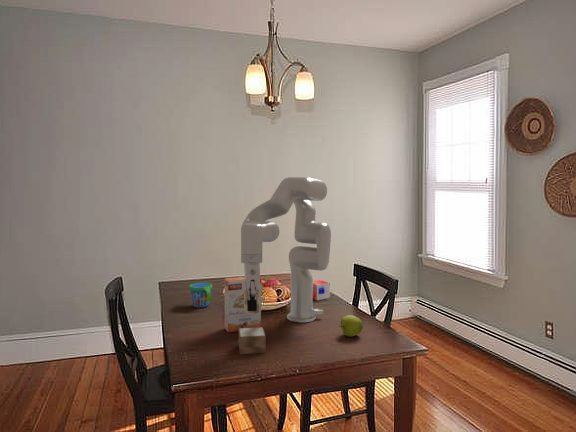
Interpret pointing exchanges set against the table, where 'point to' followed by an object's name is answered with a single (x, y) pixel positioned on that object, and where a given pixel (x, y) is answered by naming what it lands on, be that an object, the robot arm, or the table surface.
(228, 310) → the cracker box
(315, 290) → the red and white cube
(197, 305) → the snack cup
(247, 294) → the beech block
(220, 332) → the table surface
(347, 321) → the apple
